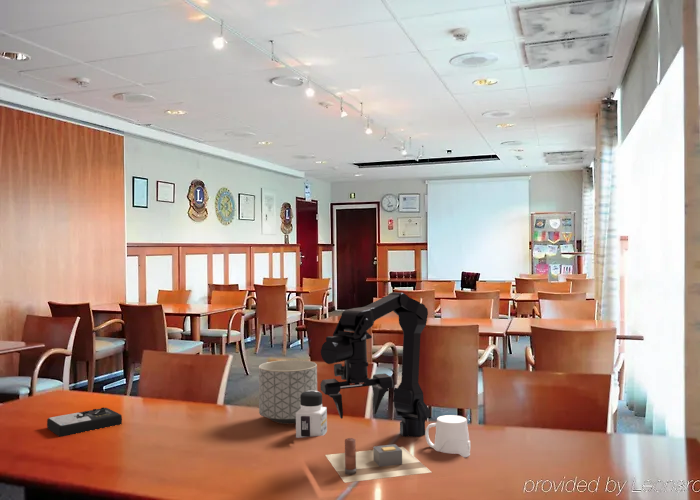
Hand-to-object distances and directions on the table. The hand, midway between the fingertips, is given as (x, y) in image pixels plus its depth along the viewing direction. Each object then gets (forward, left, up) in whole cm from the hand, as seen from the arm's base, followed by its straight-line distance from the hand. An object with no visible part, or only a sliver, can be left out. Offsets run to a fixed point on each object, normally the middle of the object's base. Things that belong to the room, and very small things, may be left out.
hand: (358, 416), depth 158 cm
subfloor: (-2, +8, -11) cm, 14 cm away
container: (+8, -24, -12) cm, 28 cm away
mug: (-24, +3, -12) cm, 27 cm away
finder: (-5, +8, -10) cm, 14 cm away
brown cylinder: (+6, +12, -10) cm, 17 cm away
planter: (+12, -42, -12) cm, 45 cm away
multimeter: (+76, -56, -12) cm, 95 cm away
